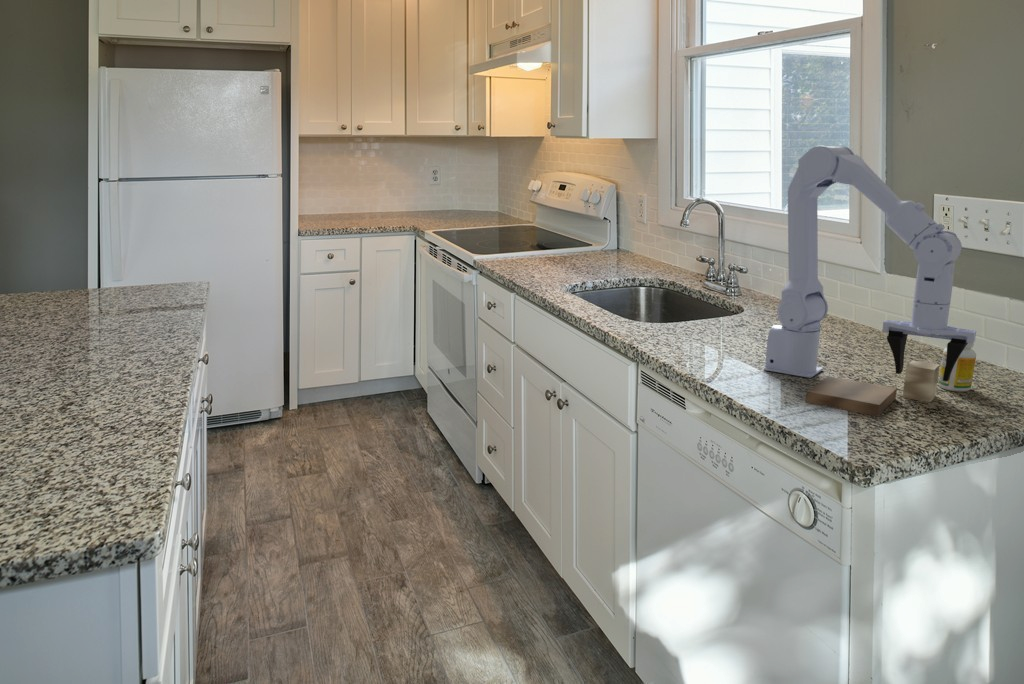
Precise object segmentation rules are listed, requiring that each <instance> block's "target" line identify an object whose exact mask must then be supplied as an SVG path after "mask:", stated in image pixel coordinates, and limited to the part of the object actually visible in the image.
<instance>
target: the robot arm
mask: <svg viewBox="0 0 1024 684" xmlns="http://www.w3.org/2000/svg"><path fill="white" fill-rule="evenodd" d="M836 183H838V184H844V185H849V186H850V185H851V186H853V187H854V188H855V189H856V190H858V191H859V192H860V193H861V194H863V195H864V197H866V198H867V199H868V200H869V201H870V202H872V203H873V204H874V205H875V206H876V207H877V208H878V209H880V210H881V211H882V212H883V213H884V214H885V224H886V226H887V227H888V228H889V229H890V230H891V231H892V232H893V233H894V234H895V235H896V236H897V237H899V239H900V240H902V242H904V244H906V245H907V246H908V247H909V248H910V249H911V250H913V257H914V259H915V261H916V263H917V264H918V265H917V274H916V277H915V278H916V279H915V287H914V295H913V301H912V302H913V303H912V308H911V309H912V311H911V316H910V317H911V318H910V321H902V320H900V321H899V320H887V319H886V320H884V321H883V323H882V331H881V332H882V333H888V334H887V336H886V339H887V342H888V344H889V348H890V350H891V352H892V356H893V360H894V366H895V374H897V375H900V374H902V373H903V371H904V363H905V362H904V361H905V350H906V345H907V339H908V336H909V335H910V336H918V337H925V338H933V339H940V340H941V339H942V340H947V341H948V343H947V344H946V348H947V358H946V366H945V370H944V375H943V381H948V380H949V379H950V375H951V372H952V369H953V367H954V365H955V363H956V361H957V359H958V357H959V356H960V354H961V353H962V351H963V350H964V348H965V347H966V345H967V344H968V343H972V344H973V343H974V344H975V342H976V336H977V330H972V329H966V328H961V327H954V326H950V325H949V324H948V322H949V315H950V308H951V300H952V295H953V293H952V292H953V285H954V279H955V278H954V273H955V268H956V267H955V265H956V262H955V261H957V259H959V257H960V255H962V250H963V248H962V247H963V246H962V242H961V240H960V238H959V237H958V236H957V234H956V233H954V232H952V231H949V230H944V229H945V228H946V227H945V226H944V224H942V223H937V222H936V220H934V219H933V218H932V217H931V216H930V215H929V214H927V212H925V211H924V210H925V208H926V206H925V205H924V204H923V203H921V202H917V203H916V202H914V201H913V200H902V199H900V198H899V196H898V195H897V194H896V193H895V192H894V191H893V190H892V189H891V188H890V187H889V186H888V185H887V184H886V183H885V182H884V181H883V180H882V179H881V178H880V177H879V176H878V174H877V173H876V172H874V171H873V169H872V168H871V167H870V166H869V165H868V164H867V163H866V162H865V159H863V158H862V157H861V156H859V155H858V154H855V153H854V152H853V150H852V149H851V148H850V147H847V146H845V145H837V146H826V145H816V146H814V147H812V148H810V149H808V151H806V152H805V153H804V154H803V155H802V156H801V157H800V158H799V159H798V166H797V169H796V171H795V172H794V175H793V177H792V179H791V182H789V186H788V189H787V235H788V236H787V242H788V243H787V248H788V249H787V250H788V257H787V258H788V260H787V262H788V263H787V264H788V267H787V268H788V269H787V270H788V280H787V282H786V284H785V286H784V287H783V288H782V290H781V299H780V303H779V304H778V307H777V310H776V313H777V315H776V316H777V319H778V321H779V323H780V324H781V325H780V324H773V325H772V326H771V328H769V332H768V336H767V342H766V351H765V352H766V353H765V363H764V367H763V370H764V371H768V372H769V371H770V372H775V373H779V374H785V375H791V376H796V377H797V376H798V377H802V378H803V377H804V378H808V379H809V378H811V379H812V378H813V377H814V376H816V375H817V374H819V373H821V371H823V370H824V367H822V366H819V365H818V357H819V346H820V337H821V328H822V326H821V321H823V320H824V319H825V318H826V317H827V315H828V312H829V305H828V301H827V299H826V297H825V295H824V286H823V285H822V283H821V281H820V280H819V277H818V275H819V274H818V273H819V266H818V254H819V252H818V251H819V249H818V247H819V246H818V229H819V228H818V199H819V197H820V196H821V195H822V194H823V193H824V192H825V191H826V190H828V189H829V188H830V186H832V185H834V184H836ZM949 340H951V341H950V342H949Z"/></svg>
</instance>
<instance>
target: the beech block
mask: <svg viewBox="0 0 1024 684" xmlns="http://www.w3.org/2000/svg"><path fill="white" fill-rule="evenodd" d="M940 368H941V364H938V363H932V362H925V361H920V360H919V361H918V360H911V361H910V362H909V363H908V364H906V368H905V375H904V383H903V392H902V398H903V399H910V400H915V401H921V402H926V403H931V402H932V401H933V400H934V399H935V398H936V396H937V394H936V393H937V389H938V388H937V387H938V382H939V375H940Z"/></svg>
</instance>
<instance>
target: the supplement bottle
mask: <svg viewBox="0 0 1024 684" xmlns="http://www.w3.org/2000/svg"><path fill="white" fill-rule="evenodd" d="M950 341H951V340H948V343H949V342H950ZM974 345H975V342H974V343H973V344H972V343H968V344H967V345H966V347H965V348H964V350H963V351H962V353H961V354H960V356H959V357H958V359H957V361H956V363H955V365H954V367H953V369H952V372H951V375H950V379H949V380H948V381H943V375H944V370H945V366H946V358H947V347H945V348H944V349H943V350H942V351H943V352H942V358H941V364H940V368H939V375H938V387H940V388H942V389H943V390H946V391H949V392H950V391H951V392H961V393H962V392H963V393H964V392H968V391H970V390H971V389H972V386H973V385H972V383H973V377H974V373H975V365H976V357H977V353H976V351H975V350H974V349H972V348H973V347H974Z"/></svg>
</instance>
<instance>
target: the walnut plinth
mask: <svg viewBox="0 0 1024 684" xmlns="http://www.w3.org/2000/svg"><path fill="white" fill-rule="evenodd" d="M897 391H898V388H897V387H894V386H893V387H892V386H887V385H882V384H877V383H876V384H875V383H869V382H863V381H859V380H858V381H857V380H852V379H846V378H840V377H834V376H826V377H825V378H823V379H822V380H821V381H819V382H817V383H816V384H814V385H813V386H812V387H811V388H809V389H808V390H806V394H805V403H809V404H812V405H813V404H815V405H819V406H823V407H828V408H835V409H839V410H844V411H849V412H855V413H860V414H864V415H870V416H875V417H879V416H880V415H881V414H882V413H883V412H884V411H885V410H887V408H888V407H889V406H890V405H891V404H892V403H893V402H894V401H895V400H896V398H897Z"/></svg>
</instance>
